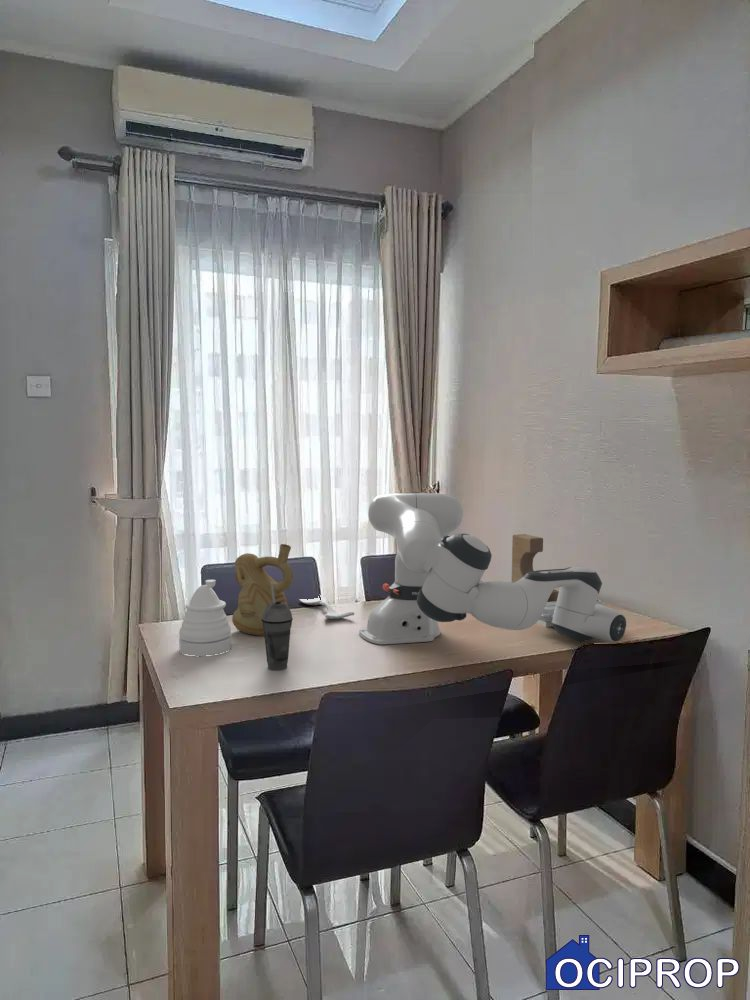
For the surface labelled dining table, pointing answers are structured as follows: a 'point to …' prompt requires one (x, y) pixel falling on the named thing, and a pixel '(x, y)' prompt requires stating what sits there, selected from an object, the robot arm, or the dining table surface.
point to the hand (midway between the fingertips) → (545, 603)
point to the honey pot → (205, 624)
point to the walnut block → (552, 598)
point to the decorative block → (524, 554)
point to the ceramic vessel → (259, 588)
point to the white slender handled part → (331, 612)
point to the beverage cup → (277, 633)
